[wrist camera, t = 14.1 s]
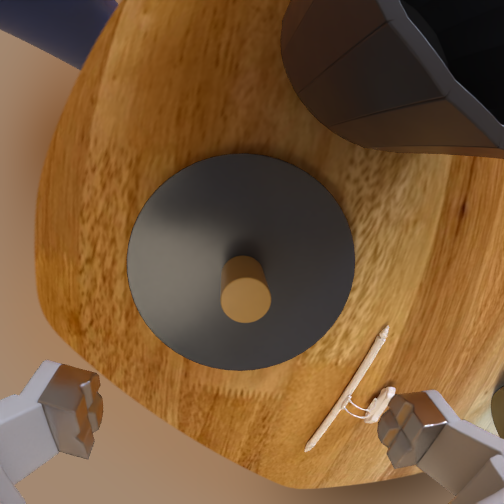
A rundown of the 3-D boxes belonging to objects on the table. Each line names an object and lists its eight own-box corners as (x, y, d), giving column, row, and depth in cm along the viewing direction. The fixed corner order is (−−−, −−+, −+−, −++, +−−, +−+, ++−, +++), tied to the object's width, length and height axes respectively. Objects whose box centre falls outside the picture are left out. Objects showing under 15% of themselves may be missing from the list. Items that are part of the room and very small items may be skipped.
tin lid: (108, 317, 20) (84, 355, 15) (181, 117, 17) (166, 104, 12) (289, 381, 22) (301, 426, 18) (383, 213, 19) (422, 230, 15)
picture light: (382, 322, 22) (394, 336, 20) (422, 334, 22) (435, 347, 20) (300, 448, 25) (305, 465, 23) (340, 451, 26) (346, 467, 24)
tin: (245, 90, 17) (272, -5, 6) (323, -47, 14) (386, -149, 3) (419, 185, 19) (558, 222, 8) (466, 47, 16) (578, 18, 5)
